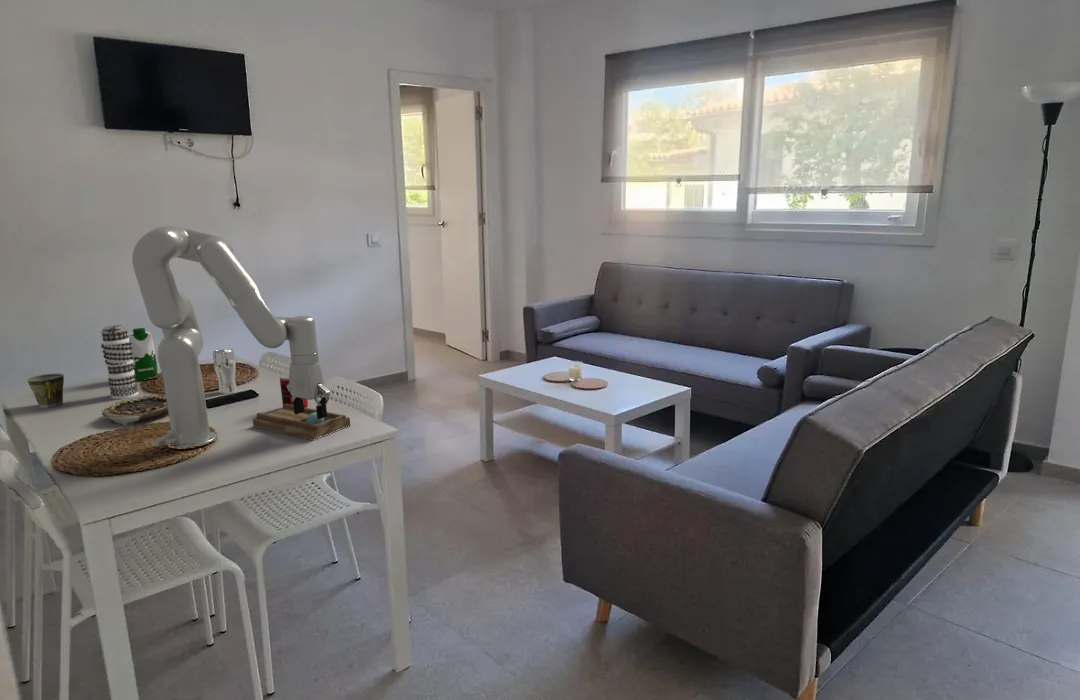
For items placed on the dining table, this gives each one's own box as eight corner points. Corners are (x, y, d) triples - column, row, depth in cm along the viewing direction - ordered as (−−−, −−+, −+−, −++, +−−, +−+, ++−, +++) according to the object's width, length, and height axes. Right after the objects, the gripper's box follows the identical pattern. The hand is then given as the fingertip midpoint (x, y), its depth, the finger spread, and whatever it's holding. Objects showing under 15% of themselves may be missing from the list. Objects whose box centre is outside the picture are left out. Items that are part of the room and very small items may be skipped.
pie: (207, 412, 220) (204, 397, 219) (118, 438, 199) (115, 422, 197) (162, 399, 236) (159, 385, 235) (75, 423, 214) (72, 408, 213)
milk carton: (135, 383, 257) (126, 331, 253) (130, 378, 264) (122, 328, 259) (160, 378, 263) (153, 328, 258) (155, 374, 269) (148, 325, 265)
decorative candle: (119, 400, 234) (107, 329, 229) (104, 397, 239) (92, 327, 233) (145, 393, 242) (134, 325, 237) (130, 390, 247) (119, 323, 241)
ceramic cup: (31, 405, 232) (25, 377, 229) (66, 399, 238) (61, 371, 236) (35, 413, 222) (30, 384, 220) (72, 407, 228) (66, 378, 226)
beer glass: (219, 390, 244) (213, 349, 241) (240, 388, 246) (234, 347, 243) (216, 395, 238) (210, 353, 235) (237, 393, 240) (232, 352, 237)
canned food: (312, 404, 225) (308, 372, 222) (301, 411, 217) (298, 378, 215) (290, 403, 226) (286, 372, 223) (278, 411, 218) (275, 378, 215)
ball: (316, 426, 196) (307, 412, 197) (309, 434, 199) (300, 420, 200) (330, 420, 200) (321, 406, 201) (323, 428, 203) (314, 414, 204)
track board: (313, 440, 190) (311, 428, 190) (253, 426, 203) (252, 415, 203) (350, 425, 202) (349, 413, 201) (291, 413, 215) (290, 402, 214)
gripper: (274, 358, 197) (280, 414, 201) (315, 365, 188) (321, 423, 192) (295, 353, 203) (301, 407, 207) (335, 359, 195) (341, 415, 198)
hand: (310, 415), depth 200 cm, fingers open, 9 cm apart
